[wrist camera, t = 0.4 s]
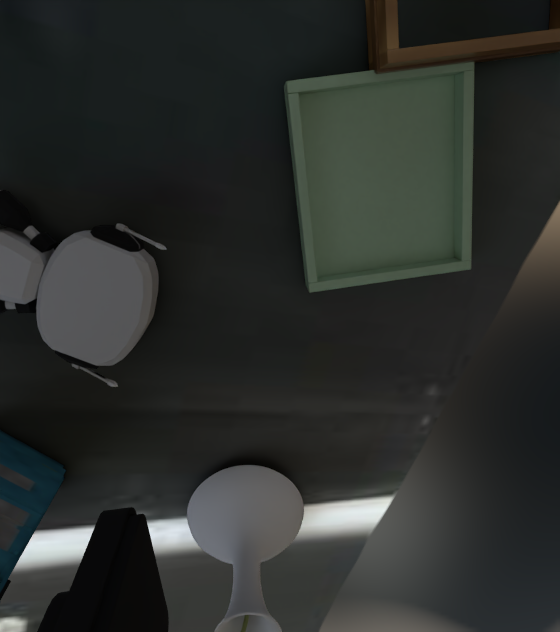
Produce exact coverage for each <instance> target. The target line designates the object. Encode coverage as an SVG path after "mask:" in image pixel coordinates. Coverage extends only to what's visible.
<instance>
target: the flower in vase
mask: <svg viewBox="0 0 560 632" xmlns="http://www.w3.org/2000/svg"><path fill="white" fill-rule="evenodd" d="M303 515H304V505H303V500H302V497H301V495H300V492H299V491H298V489H297V488H296V486H295V485H294V484H293V483H292V482H291V481H290V480H289V479H288V478H287V477H285V476H284V475H282V474H280V473H278V472H276V471H275V470H272V469H270V468H267V467H263V466H258V465H237V466H233V467H229V468H226V469H223V470H221V471H219V472H217V473H215V474H213V475H212V476H210V477H209V478H207V479H206V480H205V481H204V482H202V483H201V484H200V485H199V487H198V488H197V489H196V490H195V492H194V493H193V495H192V497H191V499H190V502H189V505H188V510H187V520H188V525H189V528H190V531H191V533H192V536H193V538H194V539H195V541H196V542H197V544H198V545H199V546H200V547H201V548H202V549H203V550H204V551H205V552H207V553H208V554H210V555H211V556H213V557H215V558H217V559H219V560H221V561H223V562H226V563H230V564H233V574H234V577H233V589H232V596H231V601H230V605H229V609H228V611H227V614H226V616H225V617H224V619H223V620H222V621H221V622H220V623H219V624H218V626H217V627H216V629H215V631H214V632H282V631H281V628H280V626H279V624H278V623H277V621H276V620H275V619H274V618H273V617H272V616H271V615H270V614H269V612H268V610H267V608H266V606H265V602H264V599H263V594H262V589H261V581H260V563H261V562H263V561H266V560H268V559H271V558H273V557H274V556H276V555H277V554H279V553H280V552H282V551H283V550H284V549H286V548H287V547H288V546H289V545H290V544H291V543H292V541H293V540H294V539H295V537H296V536H297V534H298V532H299V529H300V527H301V524H302V520H303Z"/></svg>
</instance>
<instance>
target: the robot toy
mask: <svg viewBox="0 0 560 632" xmlns="http://www.w3.org/2000/svg"><path fill="white" fill-rule="evenodd" d="M0 223H1V224H2V225H4V226H6V227H9V228H4V229H0V314H1V313H3V312H5V311H6V310H8V309H16V310H17V312H18V313H34V312H36V311H37V324H38V329H39V331H40V334H41V336H42V338H43V340H44V341H45V342H46V343H47V344H48V345H49V346H50V348H51V349H53V350H55V354H57V355H58V356H60V357H61V358H63V359H64V360H66V361H67V362H69V363H72V366H73V367H75V368H77V369H82V370H84V371H86V372H88V373H90V374H92V375H93V376H95V377H97V378H99V379H101V380H103V381H104V382H106V383H107V384H108V385H110V386H112V387H118V385H117V383H116V382H115V381H113V380H109V379H108V378H106V377H104V376H102V375H100V374H98V373H96V372H95V371H93V370H91V369H89V368H93V369H97V368H98V367H99V366H111V365H114V364H116V363H117V362H119V361H121V360H122V359H123V358H124V357H125V356H127V355H128V353H129V352H130V351H131V350H132V349H133V347H134V346H135V345H136V344H137V342H138V341H139V340H140V338H141V337H142V336H143V334H144V332H145V330H146V329H147V327H148V325H149V323H150V322H151V320H152V318H153V316H154V311H155V306H156V300H157V295H158V282H159V277H158V270H157V267H156V263H155V260H154V258H153V257H152V256H151V255H150V254H149V253H147V252H146V251H145V250H144V244H143V242H142V241H141V240H139V239H138V238H140V239H142V240H144V241H146V242H148V243H150V244H153V245H155V247H157V248H159V249H163V250H167V249H166V247H165V246H164V245H162V244H160V243H156V242H154V241H152V240H150V239H148V238H146V237H144V236H142V235H140V234H138V233H136V232H134V231H132V230H130V229H128V227H127V226H125V225H123V224H117V225H116V226H114V225H100V226H96V227H94V228H93V229H92V230H84V231H81V232H77V233H74V234H72V235H71V236H69V237H68V238H66V239H65V240H63V241H62V242H61V243H60V244H59V246H58V247H57V248H56V250H55V251H54V249H53V248H54V247H55V245H56V244H57V242H56V241H55V240H54V239H53V238H52V237H51V236H50V235H49V234H48V233H39V232H38V231H37V230H36V229H35V228H34V227H33V226H32V222H31V218H30V216H29V213H28V210H27V208H26V207H25V206H24V205H23V204H22V203H20V202H19V201H18V200H17V199H16V198H15V197H14V196H13V195H12V194H11V193H10V192H9V191H6V190H3V191H0ZM137 237H138V238H137Z"/></svg>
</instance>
